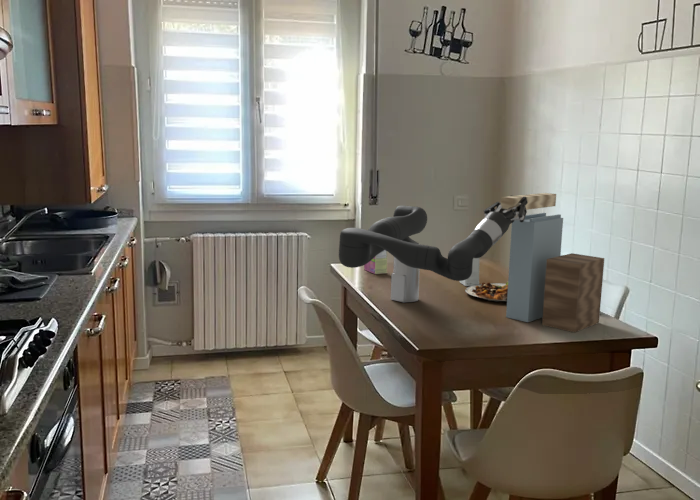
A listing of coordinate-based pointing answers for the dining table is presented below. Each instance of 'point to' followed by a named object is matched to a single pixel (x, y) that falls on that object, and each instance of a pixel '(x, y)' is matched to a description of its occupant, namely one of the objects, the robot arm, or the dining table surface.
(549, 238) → the pedestal
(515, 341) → the dining table surface
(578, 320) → the low stand
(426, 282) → the dining table surface
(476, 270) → the skincare box
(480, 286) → the plate of food
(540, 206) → the brown rectangular block
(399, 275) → the robot arm
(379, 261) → the box
